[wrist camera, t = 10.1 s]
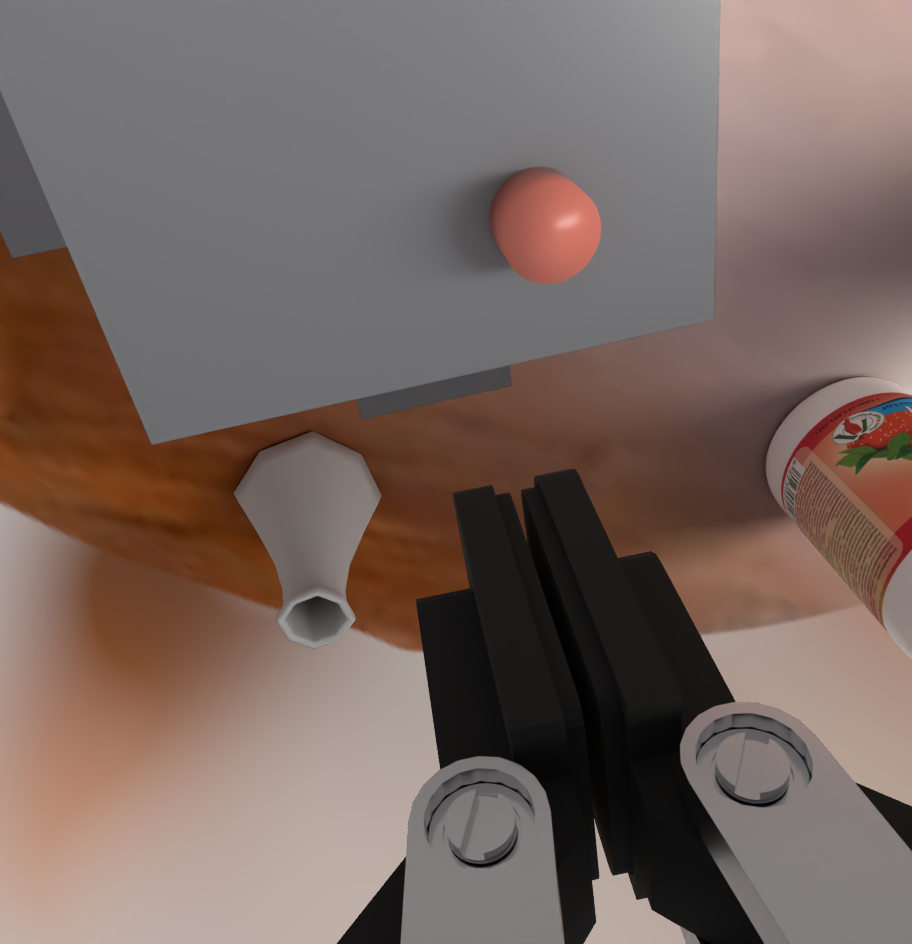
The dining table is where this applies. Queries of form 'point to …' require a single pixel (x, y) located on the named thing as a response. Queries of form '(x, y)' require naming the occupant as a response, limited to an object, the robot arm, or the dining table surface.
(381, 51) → the lid
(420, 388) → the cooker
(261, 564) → the dining table surface
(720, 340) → the dining table surface
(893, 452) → the fruit juice
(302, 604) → the flask
